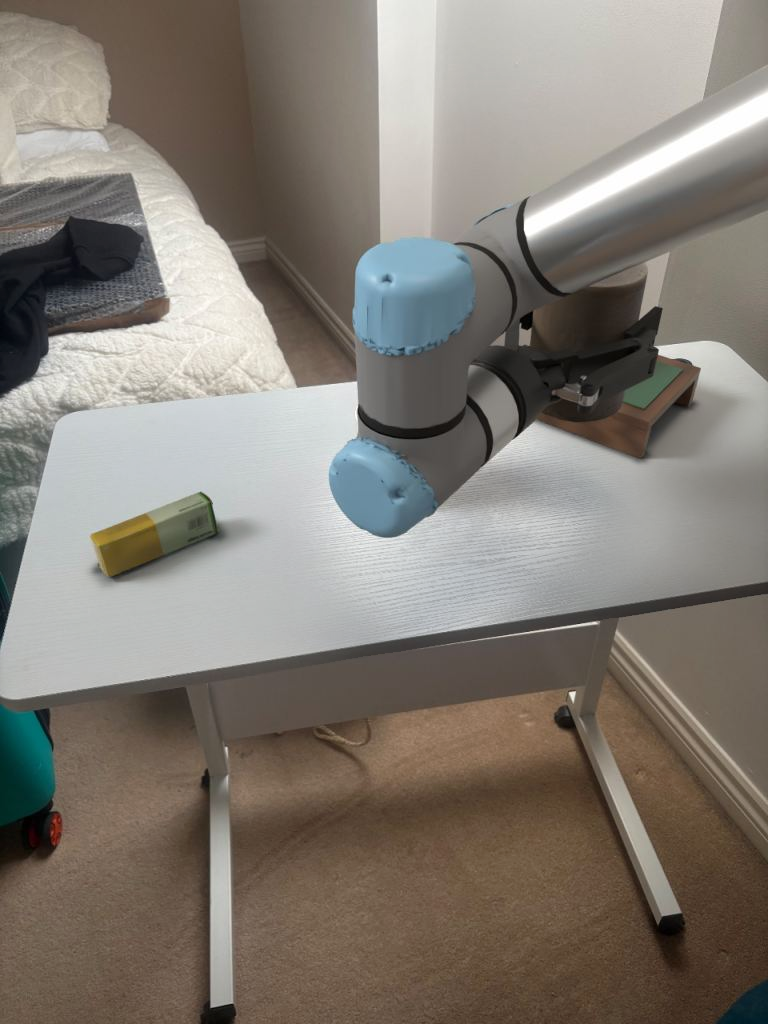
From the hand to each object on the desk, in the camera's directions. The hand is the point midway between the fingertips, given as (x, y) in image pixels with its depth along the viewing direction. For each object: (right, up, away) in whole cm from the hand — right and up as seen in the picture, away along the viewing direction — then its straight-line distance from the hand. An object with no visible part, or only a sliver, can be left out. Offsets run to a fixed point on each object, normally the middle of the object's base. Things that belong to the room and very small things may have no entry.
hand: (605, 306), depth 80 cm
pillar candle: (-3, -9, +3) cm, 9 cm away
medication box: (-44, -24, +3) cm, 50 cm away
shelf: (+7, -7, +22) cm, 24 cm away
